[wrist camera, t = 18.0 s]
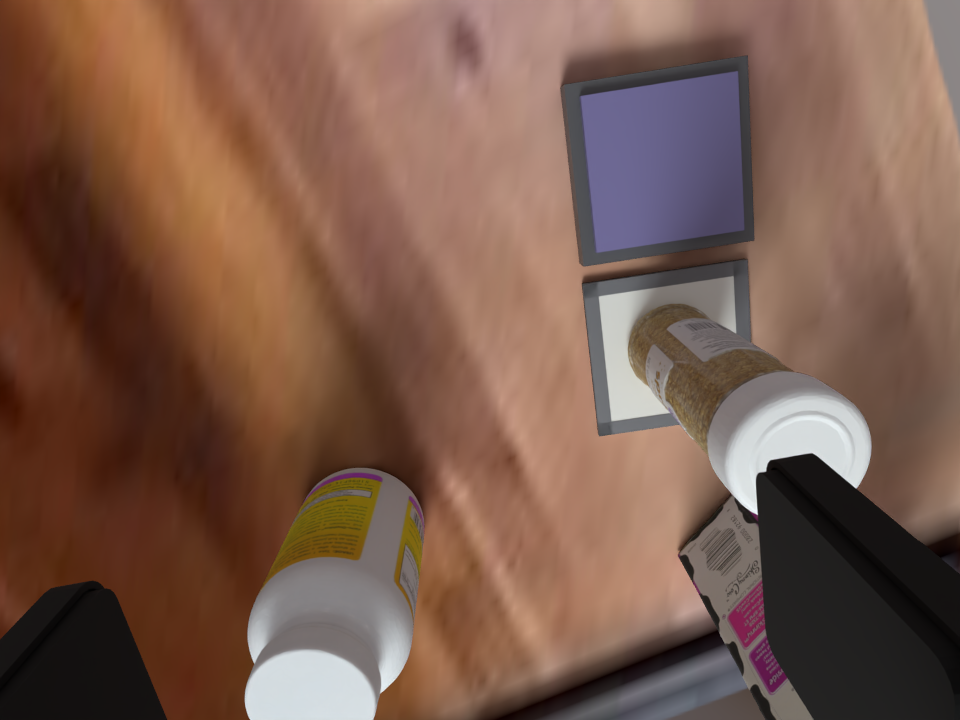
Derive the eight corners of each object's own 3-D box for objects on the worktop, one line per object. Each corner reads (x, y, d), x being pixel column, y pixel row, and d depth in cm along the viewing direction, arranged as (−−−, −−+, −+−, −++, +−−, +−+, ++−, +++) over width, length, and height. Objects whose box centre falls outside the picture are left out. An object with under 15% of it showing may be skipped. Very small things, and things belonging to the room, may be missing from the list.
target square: (581, 283, 32) (582, 284, 32) (745, 258, 32) (747, 259, 32) (598, 433, 34) (599, 436, 34) (751, 411, 34) (753, 413, 34)
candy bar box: (670, 556, 37) (823, 847, 21) (729, 489, 35) (938, 741, 20) (817, 653, 38) (1060, 987, 23) (878, 592, 37) (1177, 897, 22)
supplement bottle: (277, 525, 36) (175, 711, 23) (353, 438, 34) (288, 587, 22) (374, 595, 37) (326, 807, 25) (451, 514, 36) (442, 694, 23)
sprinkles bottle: (608, 363, 33) (698, 488, 20) (658, 284, 32) (786, 363, 19) (684, 404, 34) (818, 550, 21) (735, 328, 33) (909, 433, 20)
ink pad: (560, 88, 30) (565, 83, 28) (736, 59, 30) (751, 53, 28) (579, 263, 32) (585, 267, 30) (744, 238, 32) (757, 241, 30)
